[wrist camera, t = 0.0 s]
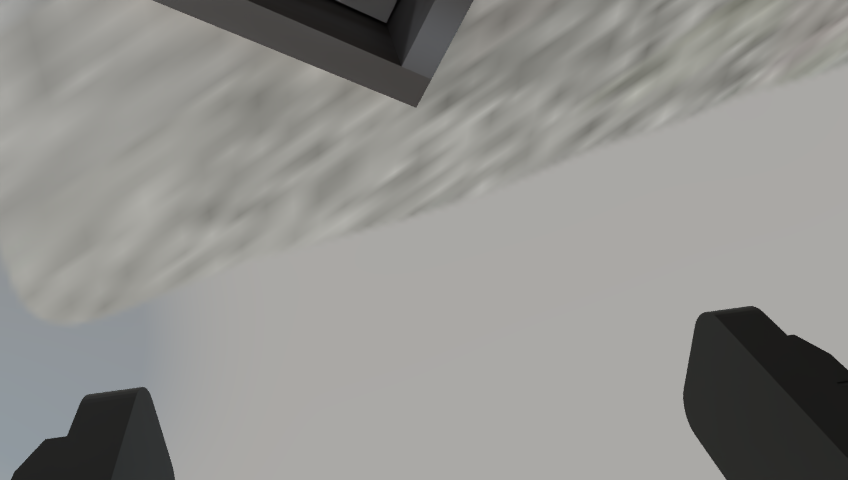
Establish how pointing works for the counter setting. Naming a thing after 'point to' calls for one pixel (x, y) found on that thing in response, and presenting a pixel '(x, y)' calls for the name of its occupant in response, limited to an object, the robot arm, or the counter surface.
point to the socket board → (347, 35)
